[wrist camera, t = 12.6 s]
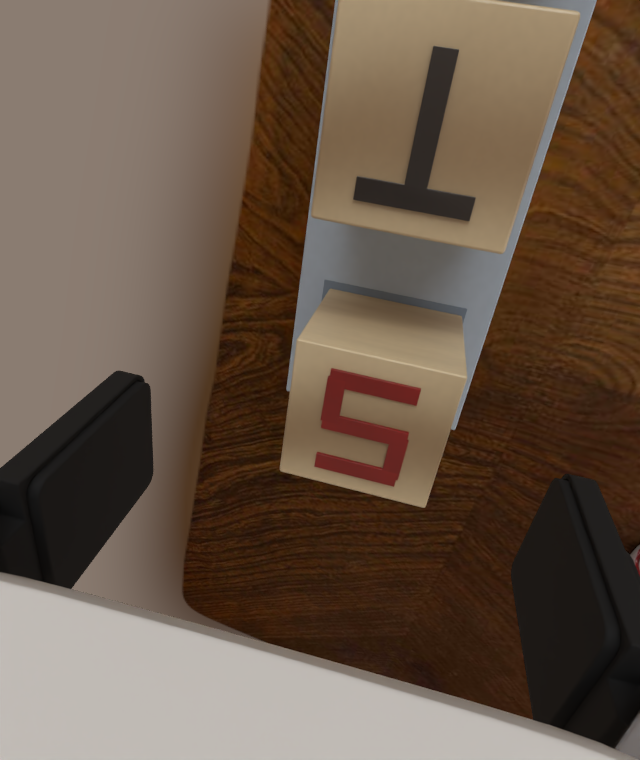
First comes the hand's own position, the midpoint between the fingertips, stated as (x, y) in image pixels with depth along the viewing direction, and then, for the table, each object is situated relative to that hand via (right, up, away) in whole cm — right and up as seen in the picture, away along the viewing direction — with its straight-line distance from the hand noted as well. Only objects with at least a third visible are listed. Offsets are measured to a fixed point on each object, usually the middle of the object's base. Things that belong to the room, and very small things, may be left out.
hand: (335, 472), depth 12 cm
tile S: (+2, +3, +6) cm, 7 cm away
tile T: (+3, +9, +3) cm, 10 cm away
